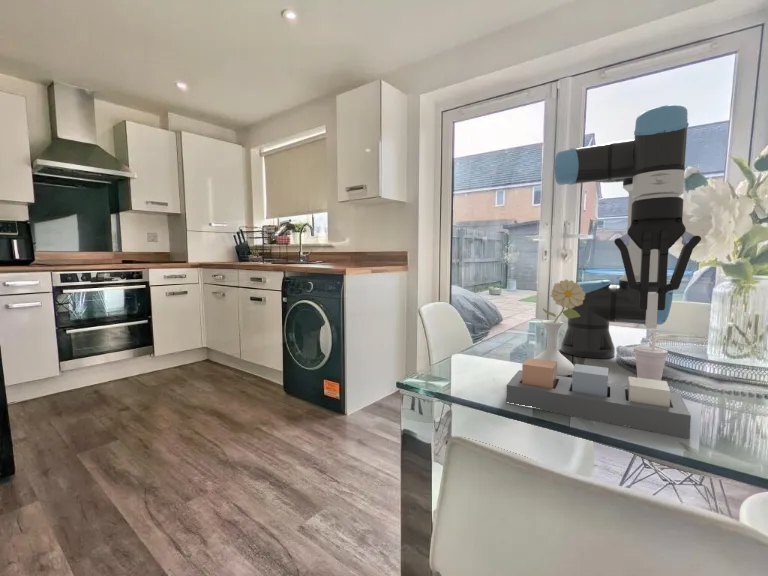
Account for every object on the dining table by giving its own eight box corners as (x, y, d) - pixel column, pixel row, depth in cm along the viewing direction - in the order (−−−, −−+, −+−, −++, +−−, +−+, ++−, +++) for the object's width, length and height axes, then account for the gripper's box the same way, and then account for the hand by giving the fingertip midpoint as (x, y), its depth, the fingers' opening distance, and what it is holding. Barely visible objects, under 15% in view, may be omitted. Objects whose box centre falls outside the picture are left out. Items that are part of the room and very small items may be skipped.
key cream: (627, 400, 74) (628, 376, 73) (664, 406, 70) (666, 381, 70) (628, 411, 68) (629, 385, 68) (669, 418, 65) (670, 391, 65)
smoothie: (672, 396, 80) (675, 333, 79) (639, 394, 82) (642, 332, 81) (656, 386, 87) (659, 328, 85) (626, 385, 88) (629, 327, 87)
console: (518, 386, 88) (518, 370, 87) (678, 413, 72) (679, 393, 71) (506, 403, 77) (506, 384, 77) (689, 438, 62) (690, 415, 61)
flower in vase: (524, 376, 95) (527, 280, 94) (531, 365, 105) (533, 277, 103) (582, 384, 89) (585, 281, 87) (583, 371, 99) (586, 278, 97)
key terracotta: (527, 379, 83) (527, 357, 83) (556, 383, 80) (557, 361, 80) (522, 387, 78) (522, 364, 78) (552, 392, 75) (553, 368, 75)
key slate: (574, 386, 78) (575, 363, 78) (607, 391, 75) (608, 367, 75) (571, 395, 73) (572, 371, 73) (606, 401, 70) (607, 375, 70)
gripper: (614, 199, 67) (609, 327, 69) (708, 191, 60) (700, 334, 62) (614, 204, 73) (609, 321, 75) (699, 197, 66) (692, 326, 68)
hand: (650, 327), depth 68 cm, fingers closed
